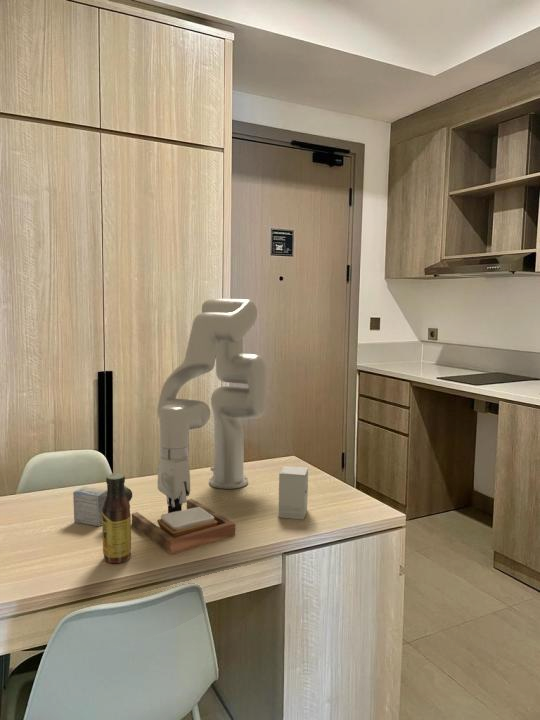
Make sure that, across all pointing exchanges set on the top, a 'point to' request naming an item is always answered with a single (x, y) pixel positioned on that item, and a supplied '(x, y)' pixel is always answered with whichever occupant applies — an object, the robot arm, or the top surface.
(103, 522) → the sauce bottle
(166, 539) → the bay
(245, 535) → the top surface
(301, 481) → the supplement box
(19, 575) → the top surface
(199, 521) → the soap dish
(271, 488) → the top surface
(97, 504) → the medicine box
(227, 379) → the robot arm
